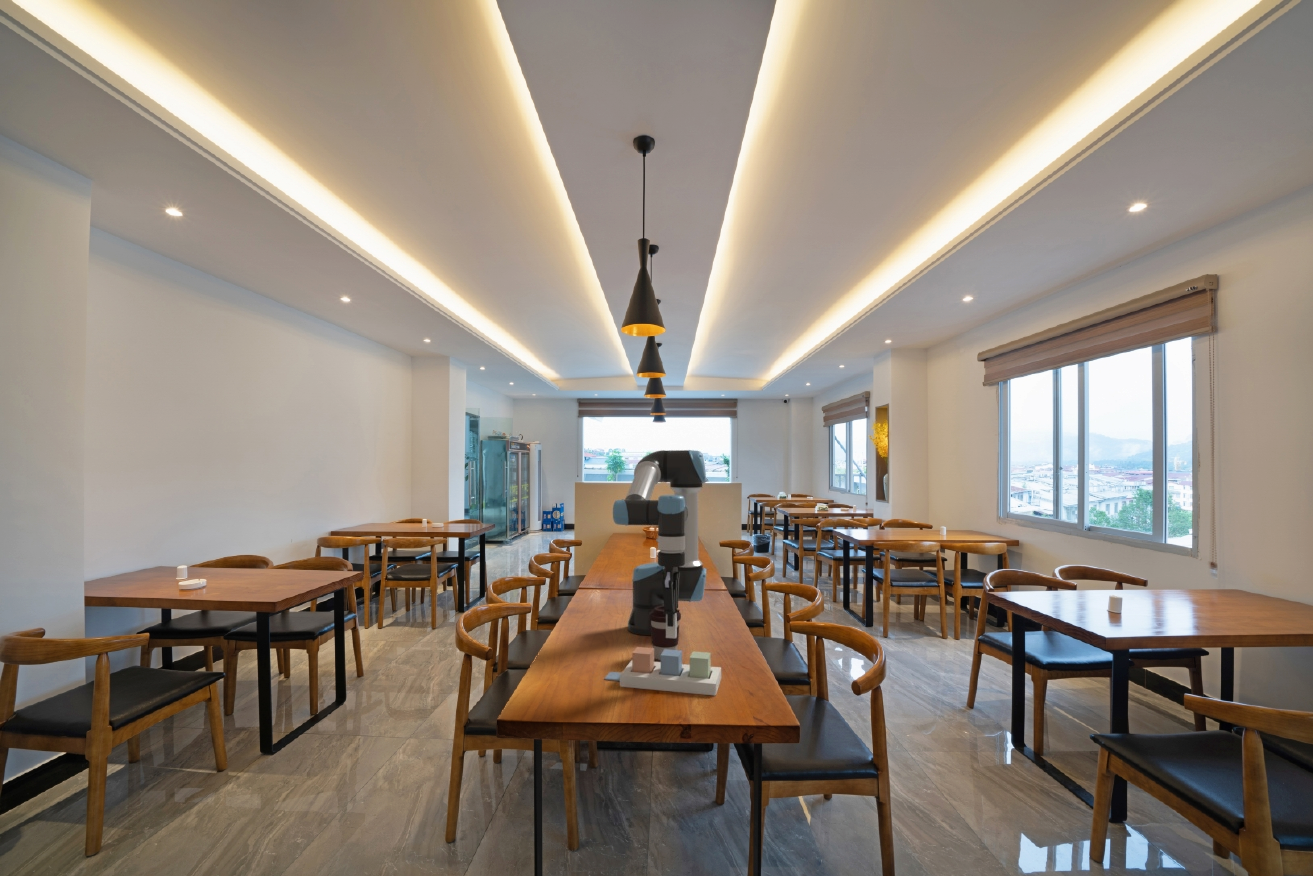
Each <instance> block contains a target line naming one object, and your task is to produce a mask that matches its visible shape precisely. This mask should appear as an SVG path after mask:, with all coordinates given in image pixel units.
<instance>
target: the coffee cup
mask: <svg viewBox="0 0 1313 876" xmlns="http://www.w3.org/2000/svg"><path fill="white" fill-rule="evenodd" d="M663 612H664V606H658V607H655V608H654V610H653V611H652V612H650V613H649V619H650V620H651V635H650V636H651V637H650V638H651V645H652V648H654V660H657V661H661V654H662V652H663V651H664V649H669V650H678V645H679V637H680V635H679V634H680V633H679V632H680V624H679V623H680V620H682V619H681V618H682V616H681V615H682V614H681V612H680V611H679V612H675V613H677V637H676V638H666V614H663Z"/></svg>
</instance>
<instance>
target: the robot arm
mask: <svg viewBox="0 0 1313 876" xmlns="http://www.w3.org/2000/svg"><path fill="white" fill-rule="evenodd" d="M706 482H707V473H706V465H705V460H704V455H703V453H702V451H700V450H694V449H692V450H691V449H686V450H685V449H684V450H683V449H682V450H680V449H678V450H675V449H674V450H673V449H671V450H662V449H661V450H657V451H654V452H651V453H649V454H647V455H646V456H644V457H642V458H641V459H640V461H638V463H637V464H636V465H635V468H634V470H633V479H632V482H631V484H630V486H629V489H628V491H627V493H626V496H625V498H624V499H617V500H615V501H614V503H613V507H612V520H613V522H614V524H616V525H617V526H619V525H621V526H653V527H654V526H655V527H656V526H657V528H658V529H657V531H658V533H657V538H656V539H655V541H656V542H657V550H659V551H658V552H657V562H649V563H643V564H640V565H637V566H636V567H635V568H633V571H632V579H631V582H632V608H631V612H630V615H629V618H628V622H627V631H628V632H630V633H632V634H635V635H640V636H651V620H650V619H649V613H650V612H652V611H653V610H654V608H655V607H658V606H664V612H663V614H666V638H676V637H677V613H675V612H680V609H679V602H689V603H691V602H701V601H702V600H703V599H704V595H705V594H704V593H705V586H706V580H707V568H705V567H704V566H703V565H704V564H703V562H702V561H701V560H700V559H699V492H700V490H702V488H703V484H705V483H706ZM659 483H669V485H670V486H669V487H670V489H671V490H672V491H673V492H674V494H661V495H660V496H658V499H651V497H652V494H653V492H654V490H655V486H656V485H657V484H659Z"/></svg>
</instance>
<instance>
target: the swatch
mask: <svg viewBox="0 0 1313 876" xmlns="http://www.w3.org/2000/svg"><path fill="white" fill-rule="evenodd" d="M621 673H622V672H618V671H609V672H608V674H607V675H606V676H604V680H605V681H613V682H614V681H615V682H620V674H621Z"/></svg>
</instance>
